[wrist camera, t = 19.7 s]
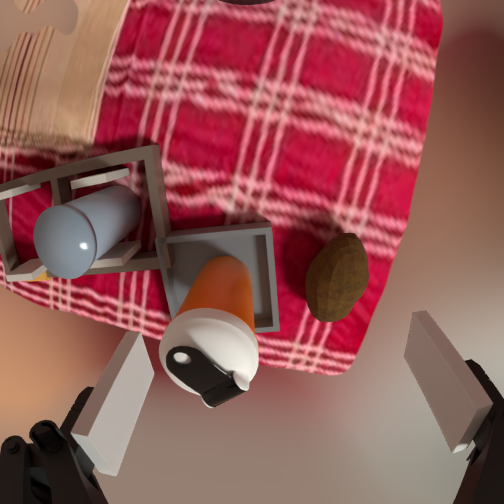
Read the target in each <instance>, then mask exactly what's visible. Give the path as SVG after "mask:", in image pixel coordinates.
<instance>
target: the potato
mask: <svg viewBox="0 0 504 504" xmlns="http://www.w3.org/2000/svg"><path fill="white" fill-rule="evenodd" d="M368 278H369V272H368V259H367V255H366V252H365V249H364V247H363V245H362V242H361V240H360V239H359V238H358V237H357V236H356V235H355V233H343V234H341V235H339V236H337V237H335V238H333V239H332V240H331V241H330V242H329V243H328V244H327V245H326V246H325V247H324V248H323V249H322V250H321V251H320V252H319V253H318V254H317V255H316V257H315V258H314V259H313V261H312V262H311V263H310V265H309V268H308V270H307V273H306V280H305V290H306V298H307V305H308V308H309V310H310V312H311V314H312V315H313V317H314V318H316V319H317V320H319V321H321V322H333V321H339V320H340V319H342V318H344V317H346V316H347V315H348V314H349V312H350V311H351V309H352V308H353V306H354V304H355V302H356V301H357V300H358V299H359V298H360V297H361V296H362V294H363V292H364V291H365V288H366V286H367V284H368Z"/></svg>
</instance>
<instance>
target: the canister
mask: <svg viewBox="0 0 504 504" xmlns="http://www.w3.org/2000/svg"><path fill="white" fill-rule="evenodd" d="M141 215H142V209H141V204H140V201H139V199H138V197H137V196H136V194H135V193H134V192H133V191H132V190H131V189H129V188H127V187H125V186H121V185H114V186H111V187H108V188H105V189H102V190H99V191H97V192H94V193H91V194H89V195H86V196H83V197H81V198H78V199H75V200H73V201H70V202H68V203H65V204H58V205H55V206H53V207H50V208H48V209H46V210H45V211H43V212H42V213H41V215H40V216H39V217H38V219H37V221H36V224H35V228H34V244H35V248H36V252H37V254H38V256H39V258H40V260H41V262H42V263H43V265H44V266H45V267H46V268H47V269H48V270H49V271H50V272H51V273H53V274H54V275H56V276H58V277H61V278H64V279H74V278H77V277H79V276H81V275H82V274H84V273H85V272H86V271H87V270H88V269H89V268H90V267H91V266H92V264H93V263H94V262H95V261H96V260H97V259H98V258H100V257H101V256H102V255H103V254H104V253H106V252H107V251H108V250H109V249H111V248H112V247H113V246H114V245H116V244H117V243H118V242H119V241H121V240H122V239H123V238H124V237H126V236H127V235H128V234H130V233H131V232H132V231H133V230H134V229H136V227H137V226H138V224H139V222H140V220H141Z"/></svg>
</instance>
